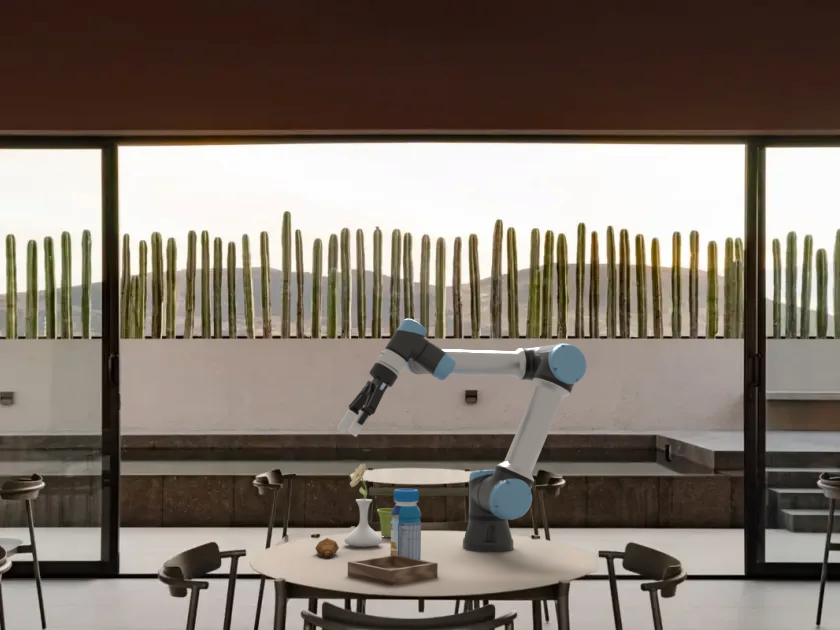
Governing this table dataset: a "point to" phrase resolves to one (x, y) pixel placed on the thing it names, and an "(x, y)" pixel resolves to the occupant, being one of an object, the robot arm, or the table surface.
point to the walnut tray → (392, 569)
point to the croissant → (327, 548)
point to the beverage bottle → (406, 524)
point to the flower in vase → (362, 517)
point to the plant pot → (385, 521)
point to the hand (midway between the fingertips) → (345, 432)
